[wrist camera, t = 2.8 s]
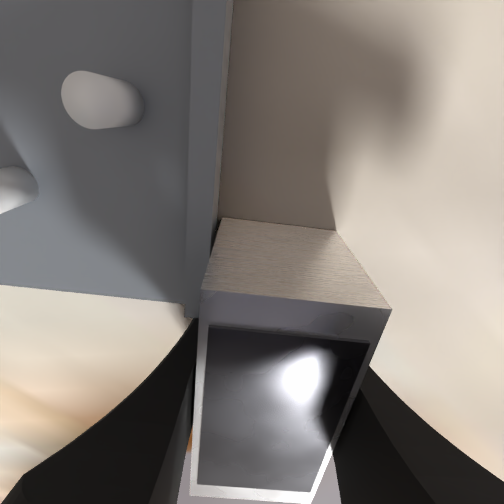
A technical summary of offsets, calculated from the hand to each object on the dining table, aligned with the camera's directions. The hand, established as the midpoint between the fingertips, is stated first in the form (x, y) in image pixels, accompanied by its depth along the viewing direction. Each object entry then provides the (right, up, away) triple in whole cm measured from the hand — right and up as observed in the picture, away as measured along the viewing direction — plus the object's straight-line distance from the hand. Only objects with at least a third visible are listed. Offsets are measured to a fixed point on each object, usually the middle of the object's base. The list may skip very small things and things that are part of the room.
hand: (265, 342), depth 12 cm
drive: (0, +1, +1) cm, 2 cm away
